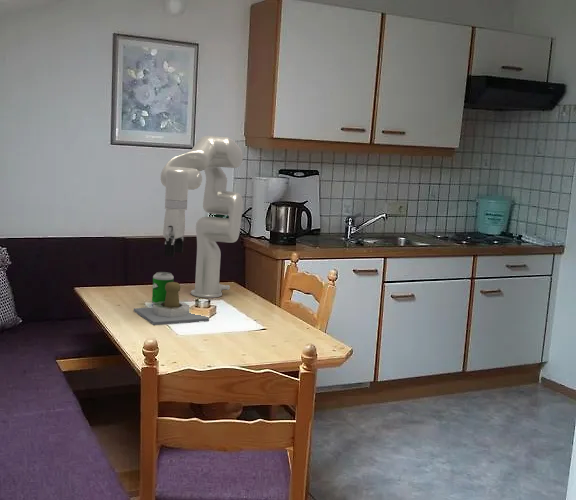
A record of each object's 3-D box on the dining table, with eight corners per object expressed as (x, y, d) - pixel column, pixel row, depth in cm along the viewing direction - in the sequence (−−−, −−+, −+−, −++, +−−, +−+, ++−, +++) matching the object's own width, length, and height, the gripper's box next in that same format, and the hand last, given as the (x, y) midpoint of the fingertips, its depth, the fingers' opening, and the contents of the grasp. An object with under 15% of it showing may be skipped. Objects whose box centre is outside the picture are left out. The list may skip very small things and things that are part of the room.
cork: (181, 311, 251) (183, 281, 250) (178, 315, 245) (180, 284, 244) (164, 310, 251) (165, 280, 250) (161, 314, 245) (162, 283, 244)
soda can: (174, 304, 267) (176, 272, 265) (169, 308, 259) (170, 276, 258) (155, 302, 267) (156, 271, 266) (149, 306, 260) (150, 274, 258)
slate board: (186, 307, 262) (186, 305, 262) (208, 321, 245) (209, 318, 245) (133, 311, 252) (133, 308, 251) (153, 325, 235) (153, 322, 235)
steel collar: (179, 308, 256) (180, 300, 256) (192, 316, 246) (193, 307, 246) (149, 310, 250) (149, 302, 250) (161, 318, 240) (161, 309, 240)
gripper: (173, 202, 252) (171, 249, 254) (157, 206, 235) (155, 257, 238) (193, 203, 251) (191, 251, 253) (178, 208, 234) (176, 259, 236)
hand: (173, 254), depth 245 cm, fingers open, 9 cm apart
